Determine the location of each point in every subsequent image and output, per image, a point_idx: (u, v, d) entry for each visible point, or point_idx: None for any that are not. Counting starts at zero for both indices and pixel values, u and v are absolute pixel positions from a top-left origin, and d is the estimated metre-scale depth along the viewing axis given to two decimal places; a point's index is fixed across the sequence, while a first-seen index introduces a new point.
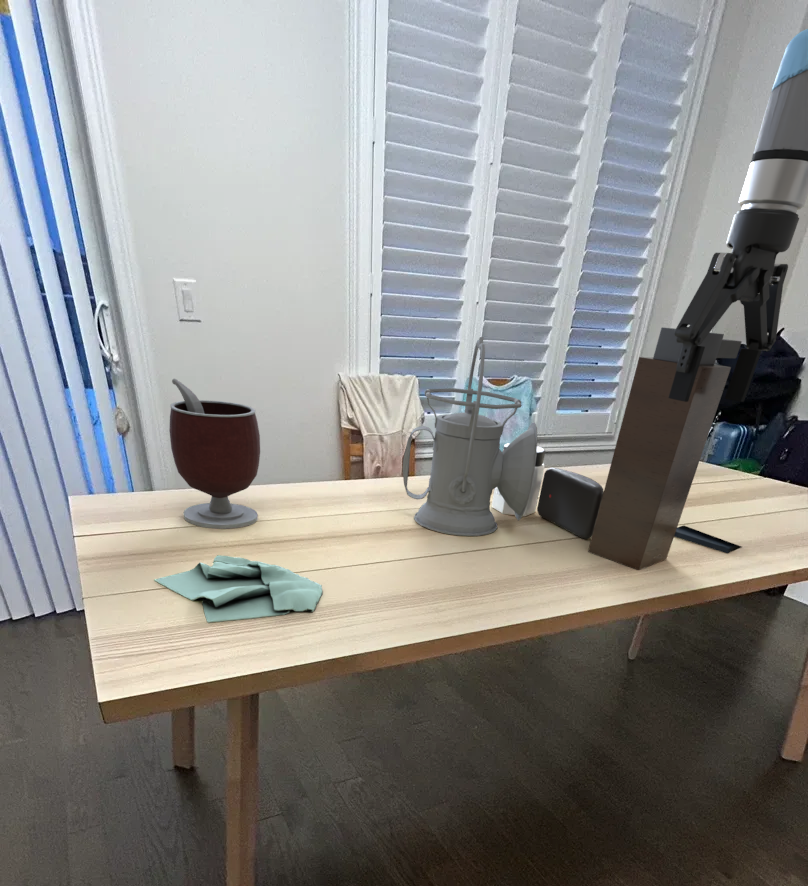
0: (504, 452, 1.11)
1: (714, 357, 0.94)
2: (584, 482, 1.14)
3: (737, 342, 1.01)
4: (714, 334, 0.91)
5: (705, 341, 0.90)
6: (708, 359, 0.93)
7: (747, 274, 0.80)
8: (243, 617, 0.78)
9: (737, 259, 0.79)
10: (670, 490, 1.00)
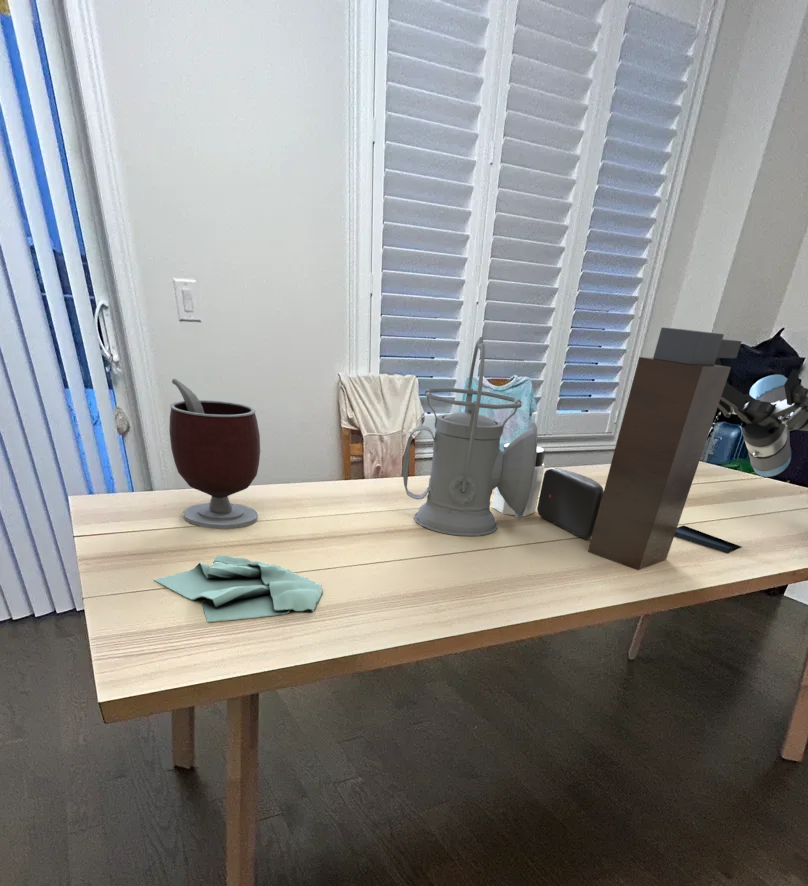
0: (504, 452, 1.11)
1: (714, 357, 0.94)
2: (583, 482, 1.14)
3: (737, 342, 1.01)
4: (714, 334, 0.91)
5: (705, 341, 0.90)
6: (708, 359, 0.93)
7: None
8: (243, 616, 0.78)
9: None
10: (670, 490, 1.00)
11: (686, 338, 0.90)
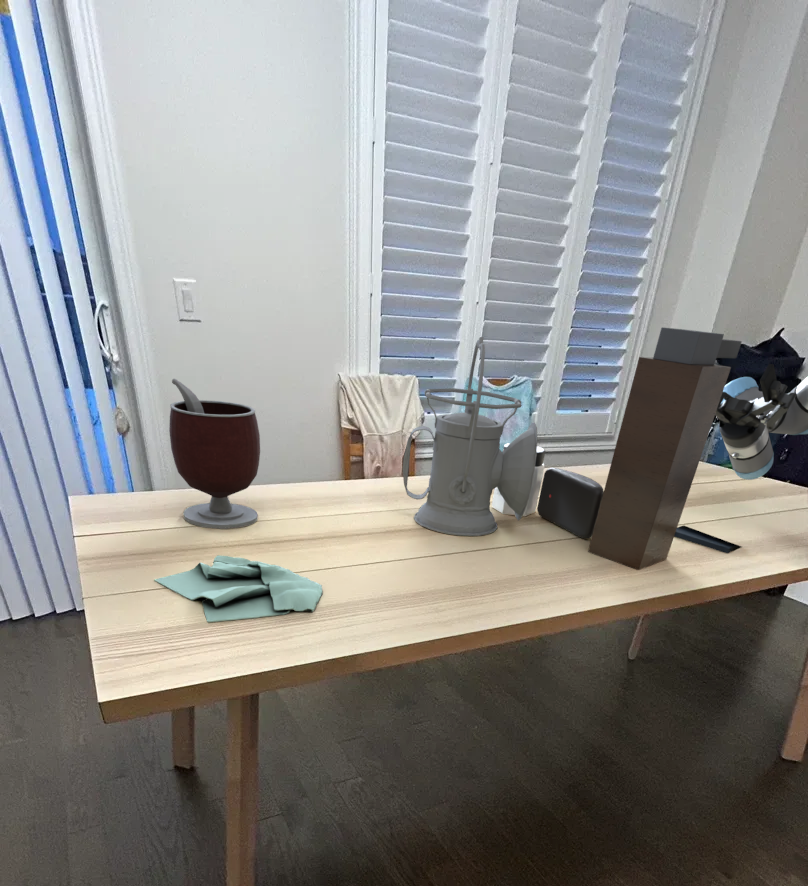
0: (504, 452, 1.11)
1: (714, 357, 0.94)
2: (583, 482, 1.14)
3: (737, 342, 1.01)
4: (714, 334, 0.91)
5: (705, 341, 0.90)
6: (708, 359, 0.93)
7: None
8: (243, 616, 0.78)
9: None
10: (670, 490, 1.00)
11: (686, 338, 0.90)
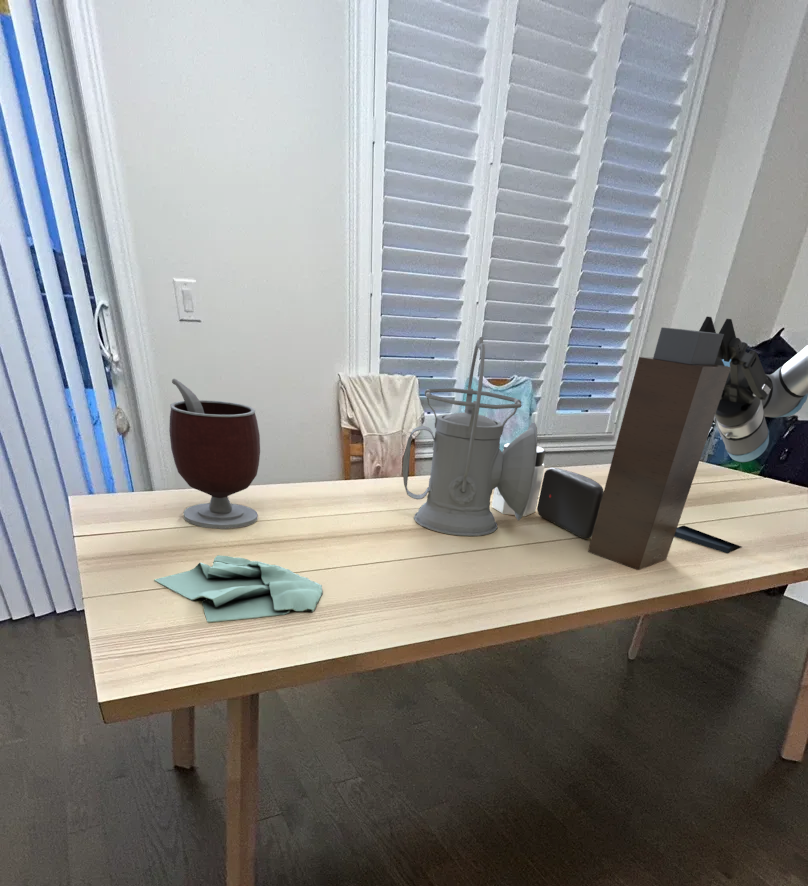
0: (504, 452, 1.11)
1: (714, 357, 0.94)
2: (583, 482, 1.14)
3: None
4: (714, 334, 0.91)
5: (705, 341, 0.90)
6: (708, 359, 0.93)
7: None
8: (243, 616, 0.78)
9: None
10: (670, 490, 1.00)
11: (686, 338, 0.90)
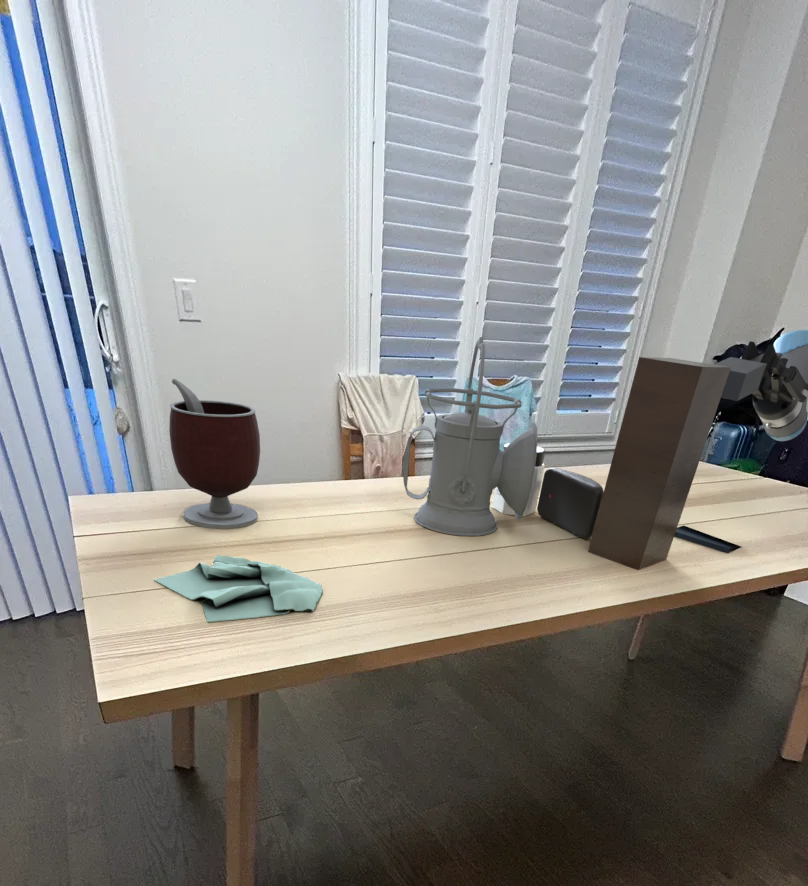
0: (504, 452, 1.11)
1: (758, 384, 1.04)
2: (583, 482, 1.14)
3: (778, 356, 1.09)
4: (758, 368, 1.00)
5: (750, 377, 1.00)
6: (752, 389, 1.03)
7: None
8: (243, 616, 0.78)
9: None
10: (670, 490, 1.00)
11: (733, 378, 0.99)
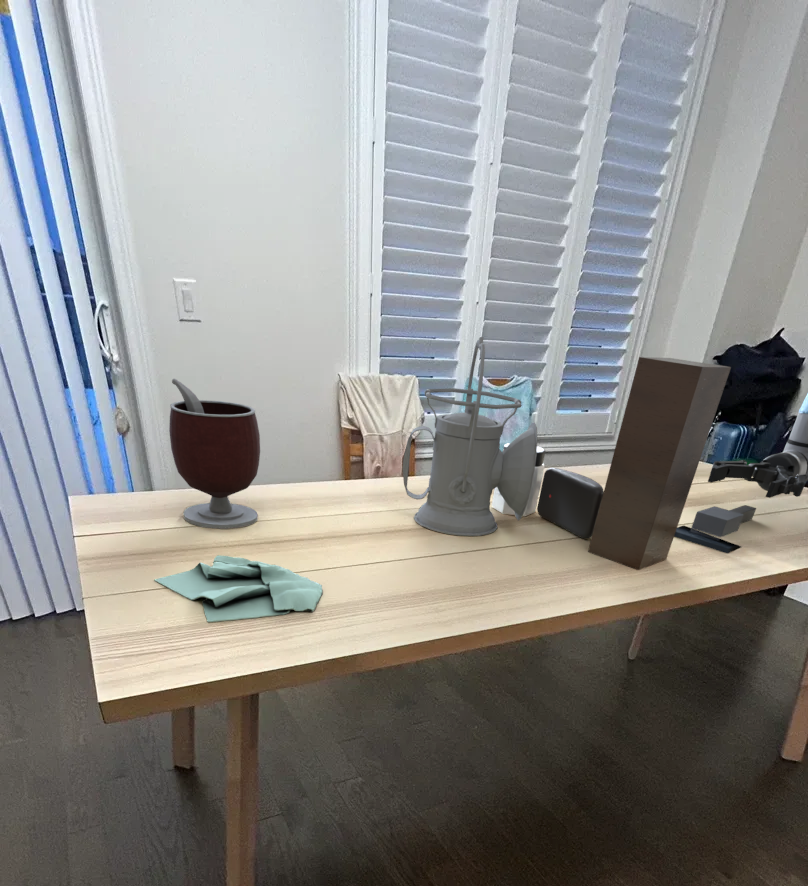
0: (504, 452, 1.11)
1: (736, 530, 1.25)
2: (583, 482, 1.14)
3: (753, 510, 1.31)
4: (736, 517, 1.21)
5: (730, 524, 1.21)
6: None
7: None
8: (243, 616, 0.78)
9: None
10: (670, 490, 1.00)
11: (716, 522, 1.20)
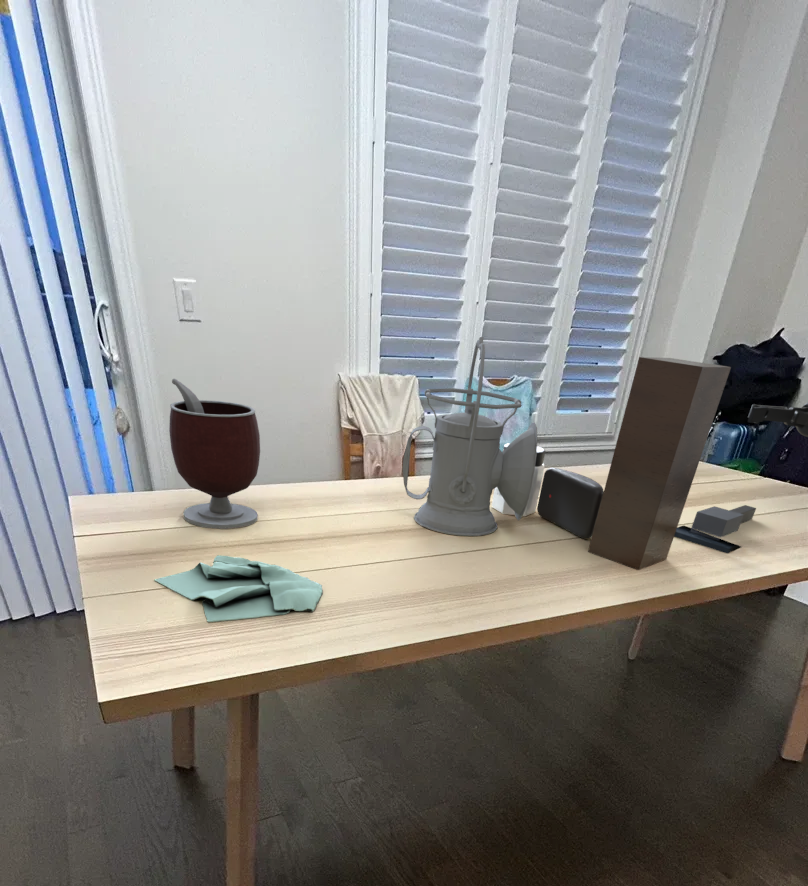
0: (504, 452, 1.11)
1: (736, 530, 1.25)
2: (583, 482, 1.14)
3: (753, 510, 1.31)
4: (736, 517, 1.21)
5: (730, 524, 1.21)
6: None
7: None
8: (243, 616, 0.78)
9: None
10: (670, 490, 1.00)
11: (716, 522, 1.20)
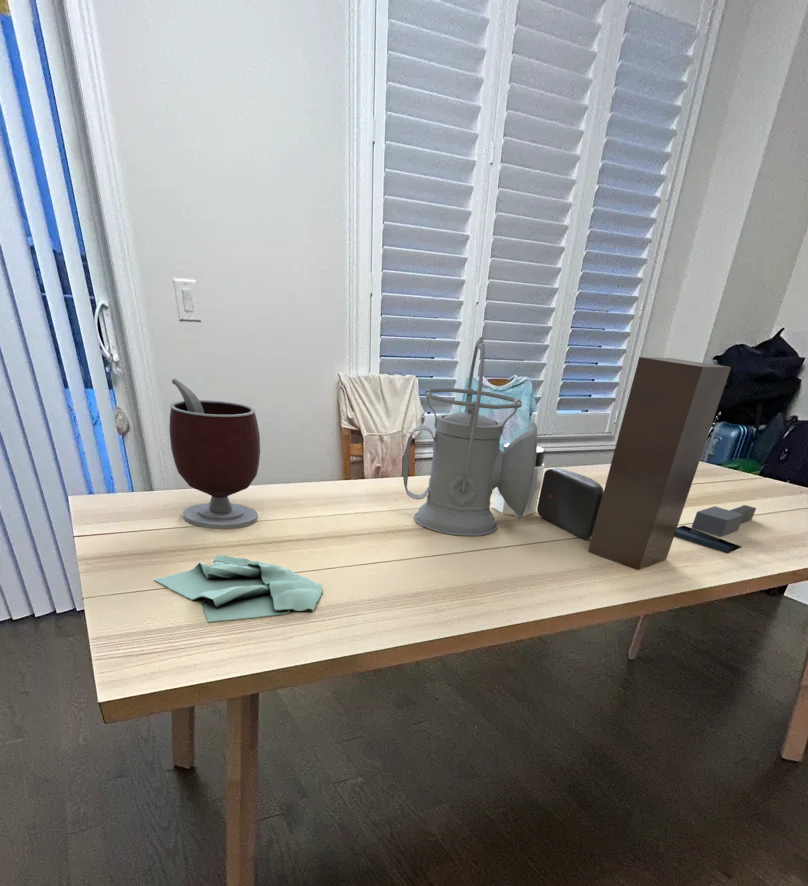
0: (504, 452, 1.11)
1: (736, 530, 1.25)
2: (583, 482, 1.14)
3: (753, 510, 1.31)
4: (736, 517, 1.21)
5: (730, 524, 1.21)
6: None
7: None
8: (243, 616, 0.78)
9: None
10: (670, 490, 1.00)
11: (716, 522, 1.20)
